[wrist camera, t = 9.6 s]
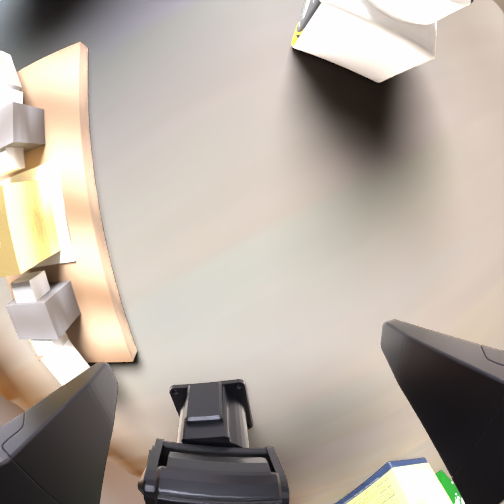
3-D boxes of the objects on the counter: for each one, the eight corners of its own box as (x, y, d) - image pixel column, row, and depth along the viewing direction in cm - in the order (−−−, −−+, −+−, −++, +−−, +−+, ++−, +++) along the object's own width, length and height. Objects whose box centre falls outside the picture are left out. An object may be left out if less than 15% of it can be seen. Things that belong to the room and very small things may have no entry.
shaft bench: (141, 361, 22) (125, 404, 17) (50, 361, 21) (26, 395, 16) (88, 37, 14) (57, 9, 9) (-4, 83, 14) (-41, 73, 9)
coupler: (48, 178, 15) (2, 184, 11) (60, 249, 17) (20, 274, 12) (10, 191, 15) (-34, 201, 10) (23, 257, 17) (-17, 280, 12)
